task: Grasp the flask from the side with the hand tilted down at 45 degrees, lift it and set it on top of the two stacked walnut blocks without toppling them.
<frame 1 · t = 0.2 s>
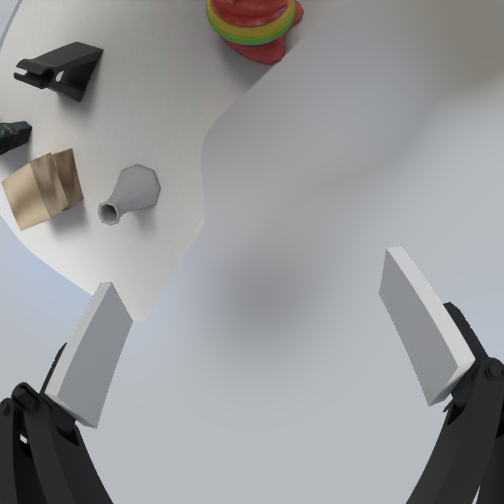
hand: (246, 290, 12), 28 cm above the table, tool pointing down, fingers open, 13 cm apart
stacking bear: (256, 24, 26), on the table
block lower: (60, 177, 38), on the table
block upper: (42, 187, 33), point 5 cm above the table
ceramic cat: (9, 118, 31), on the table
phone stand: (79, 71, 28), on the table
flask: (139, 186, 39), on the table
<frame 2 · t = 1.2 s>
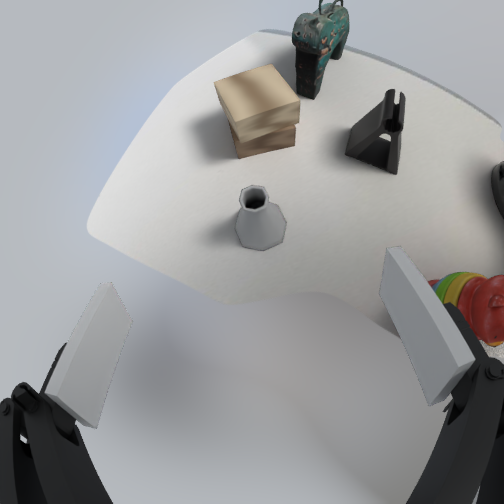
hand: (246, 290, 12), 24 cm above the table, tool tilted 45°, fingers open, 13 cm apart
stacking bear: (434, 312, 33), on the table
block lower: (260, 131, 42), on the table, touching block upper
block upper: (258, 111, 37), point 5 cm above the table, touching block lower
ceramic cat: (319, 73, 44), on the table
phone stand: (373, 151, 39), on the table
flask: (260, 226, 39), on the table
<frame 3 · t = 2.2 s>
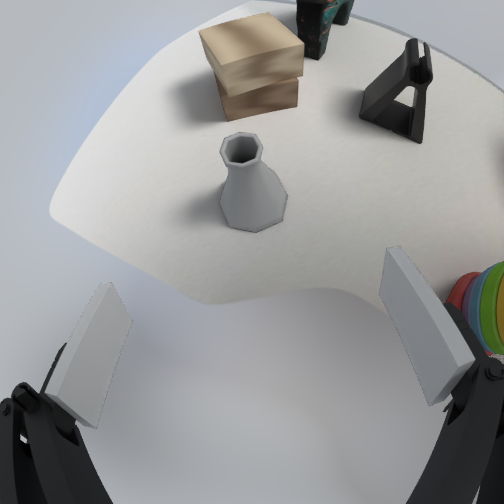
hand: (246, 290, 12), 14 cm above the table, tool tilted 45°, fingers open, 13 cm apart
stacking bear: (471, 313, 24), on the table
block lower: (254, 92, 32), on the table, touching block upper
block upper: (252, 65, 28), point 5 cm above the table, touching block lower
ceramic cat: (324, 36, 34), on the table
phone stand: (392, 116, 30), on the table
flask: (253, 200, 29), on the table
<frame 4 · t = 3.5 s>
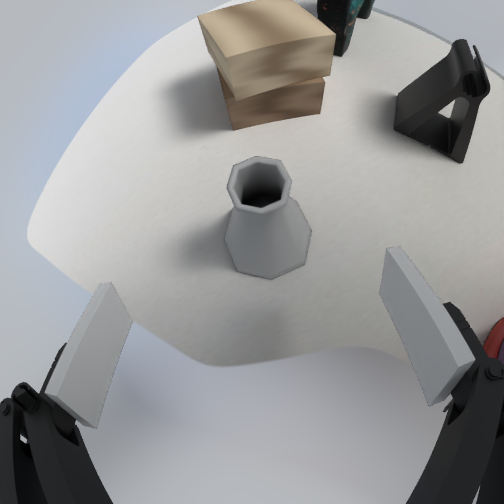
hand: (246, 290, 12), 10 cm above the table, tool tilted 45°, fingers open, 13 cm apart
stacking bear: (502, 359, 18), on the table
block lower: (266, 93, 26), on the table, touching block upper
block upper: (265, 59, 21), point 5 cm above the table, touching block lower
ceramic cat: (344, 30, 28), on the table
phone stand: (429, 128, 24), on the table
flask: (268, 236, 23), on the table
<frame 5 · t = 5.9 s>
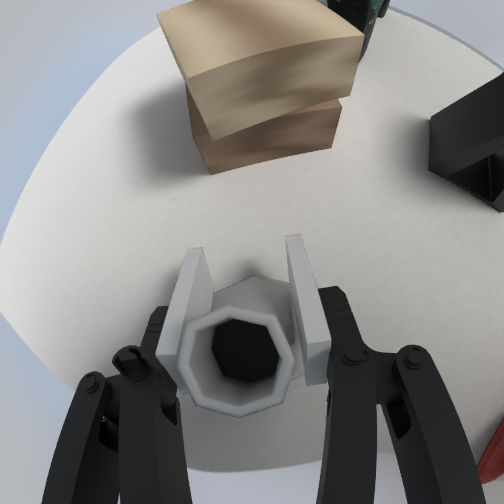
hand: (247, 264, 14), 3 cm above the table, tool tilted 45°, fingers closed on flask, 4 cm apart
block lower: (258, 117, 20), on the table, touching block upper
block upper: (255, 71, 15), point 5 cm above the table, touching block lower
ceramic cat: (358, 30, 22), on the table
phone stand: (467, 165, 18), on the table
flask: (260, 333, 17), on the table, touching gripper
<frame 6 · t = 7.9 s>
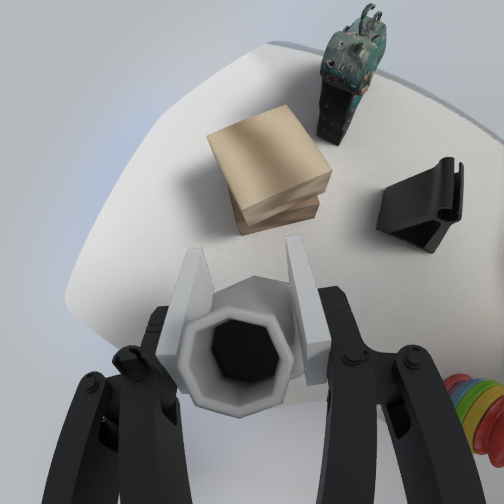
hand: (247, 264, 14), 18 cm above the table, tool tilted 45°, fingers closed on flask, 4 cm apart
stacking bear: (449, 405, 26), on the table
block lower: (269, 194, 34), on the table
block upper: (268, 174, 29), point 5 cm above the table
ceramic cat: (344, 105, 36), on the table
phone stand: (408, 221, 32), on the table
flask: (260, 333, 17), point 15 cm above the table, touching gripper
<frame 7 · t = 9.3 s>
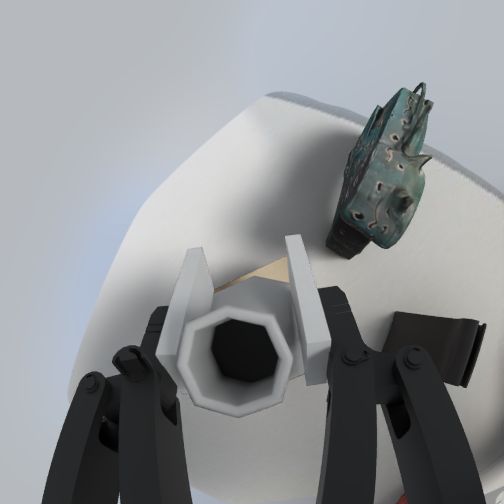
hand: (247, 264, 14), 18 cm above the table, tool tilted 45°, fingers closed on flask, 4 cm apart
block upper: (266, 325, 26), point 5 cm above the table, touching block lower
ceramic cat: (359, 196, 33), on the table
phone stand: (415, 344, 28), on the table
flask: (260, 333, 17), point 14 cm above the table, touching gripper
when the fingers open (14 cm above the table, at t = 10.2 s): flask drops 1 cm, resting on block upper.
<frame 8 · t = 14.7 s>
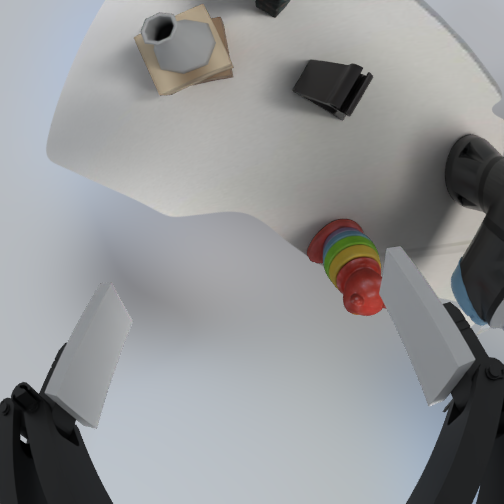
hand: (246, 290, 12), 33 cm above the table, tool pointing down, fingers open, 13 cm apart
stacking bear: (339, 241, 49), on the table
block lower: (198, 56, 32), on the table, touching block upper
block upper: (189, 53, 28), point 5 cm above the table, touching block lower, flask
phone stand: (326, 89, 35), on the table
flask: (184, 46, 24), point 10 cm above the table, touching block upper
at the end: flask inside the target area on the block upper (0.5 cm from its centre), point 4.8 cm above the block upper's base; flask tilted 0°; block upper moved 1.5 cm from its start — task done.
